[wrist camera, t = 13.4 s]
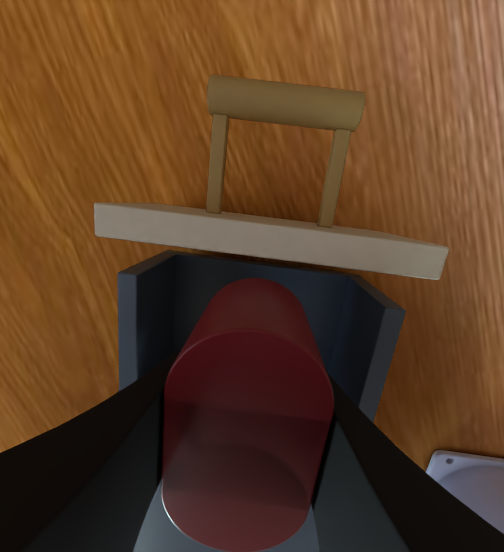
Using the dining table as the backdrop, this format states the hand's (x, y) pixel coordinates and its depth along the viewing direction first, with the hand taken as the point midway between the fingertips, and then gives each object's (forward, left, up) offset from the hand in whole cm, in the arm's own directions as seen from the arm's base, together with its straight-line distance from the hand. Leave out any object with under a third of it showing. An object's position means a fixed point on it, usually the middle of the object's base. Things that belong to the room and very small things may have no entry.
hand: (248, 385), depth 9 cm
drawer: (0, -1, -7) cm, 7 cm away
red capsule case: (0, 0, -1) cm, 1 cm away
